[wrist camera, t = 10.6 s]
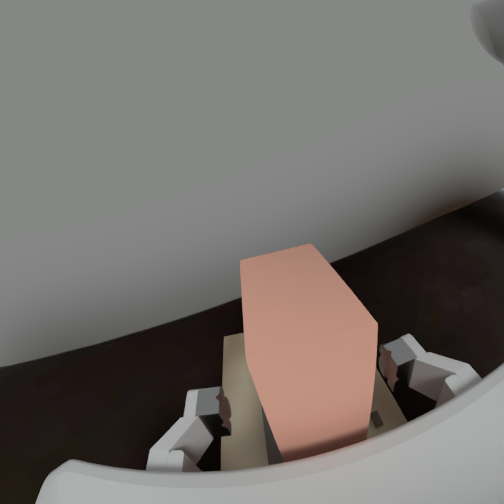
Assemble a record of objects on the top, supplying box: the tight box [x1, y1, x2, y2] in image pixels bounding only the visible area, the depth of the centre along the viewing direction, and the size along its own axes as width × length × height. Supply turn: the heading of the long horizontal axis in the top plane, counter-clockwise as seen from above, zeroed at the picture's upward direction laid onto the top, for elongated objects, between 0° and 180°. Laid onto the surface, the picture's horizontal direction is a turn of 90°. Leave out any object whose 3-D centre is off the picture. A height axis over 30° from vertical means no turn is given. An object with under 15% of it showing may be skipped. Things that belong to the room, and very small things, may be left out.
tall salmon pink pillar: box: [240, 243, 378, 463], centre depth 10 cm, size 3×6×12 cm, turn 3°
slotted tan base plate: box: [221, 333, 407, 471], centre depth 18 cm, size 12×18×5 cm
